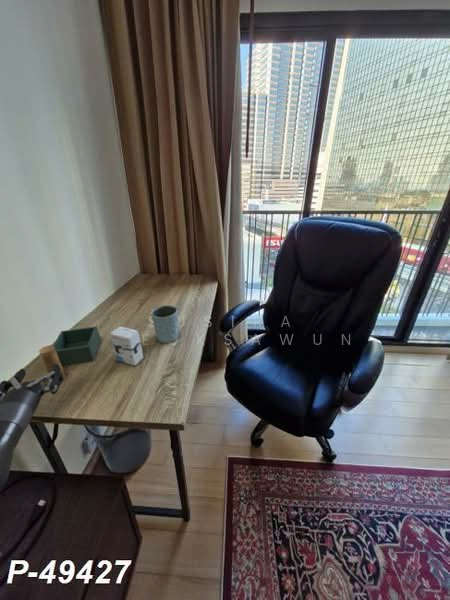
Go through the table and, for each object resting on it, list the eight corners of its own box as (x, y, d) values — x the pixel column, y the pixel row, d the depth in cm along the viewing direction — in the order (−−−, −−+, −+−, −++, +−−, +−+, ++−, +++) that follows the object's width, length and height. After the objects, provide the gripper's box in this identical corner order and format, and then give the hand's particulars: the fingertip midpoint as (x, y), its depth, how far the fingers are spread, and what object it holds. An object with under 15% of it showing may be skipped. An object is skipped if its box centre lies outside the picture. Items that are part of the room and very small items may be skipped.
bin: (54, 367, 87) (48, 352, 84) (66, 344, 99) (61, 331, 96) (93, 360, 90) (89, 346, 87) (100, 339, 102) (96, 326, 99)
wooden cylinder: (49, 384, 80) (36, 354, 75) (54, 375, 83) (41, 346, 78) (63, 381, 81) (51, 351, 76) (67, 373, 84) (56, 344, 79)
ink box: (115, 360, 90) (108, 333, 85) (125, 352, 94) (119, 325, 89) (135, 366, 87) (128, 338, 82) (144, 357, 91) (138, 330, 86)
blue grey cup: (157, 346, 97) (152, 319, 92) (153, 332, 106) (149, 307, 100) (182, 340, 101) (179, 314, 95) (177, 327, 109) (174, 303, 104)
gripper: (42, 396, 58) (64, 353, 72) (-32, 410, 55) (6, 362, 69) (52, 419, 61) (71, 373, 75) (-16, 433, 58) (17, 382, 72)
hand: (40, 368), depth 72 cm, fingers open, 8 cm apart
